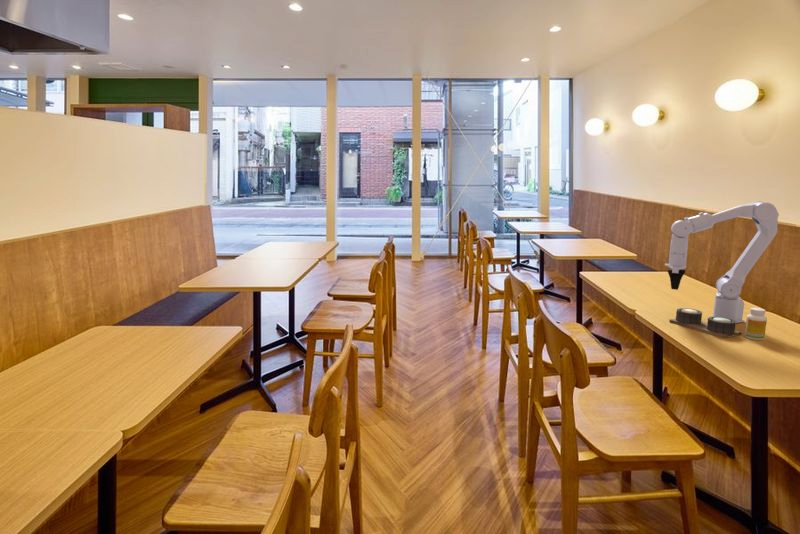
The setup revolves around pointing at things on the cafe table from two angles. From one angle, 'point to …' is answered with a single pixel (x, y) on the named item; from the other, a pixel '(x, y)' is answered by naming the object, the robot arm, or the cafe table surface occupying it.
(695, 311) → the peg cream
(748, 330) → the supplement bottle
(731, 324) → the collar board
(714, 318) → the peg sage
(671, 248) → the robot arm
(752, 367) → the cafe table surface
